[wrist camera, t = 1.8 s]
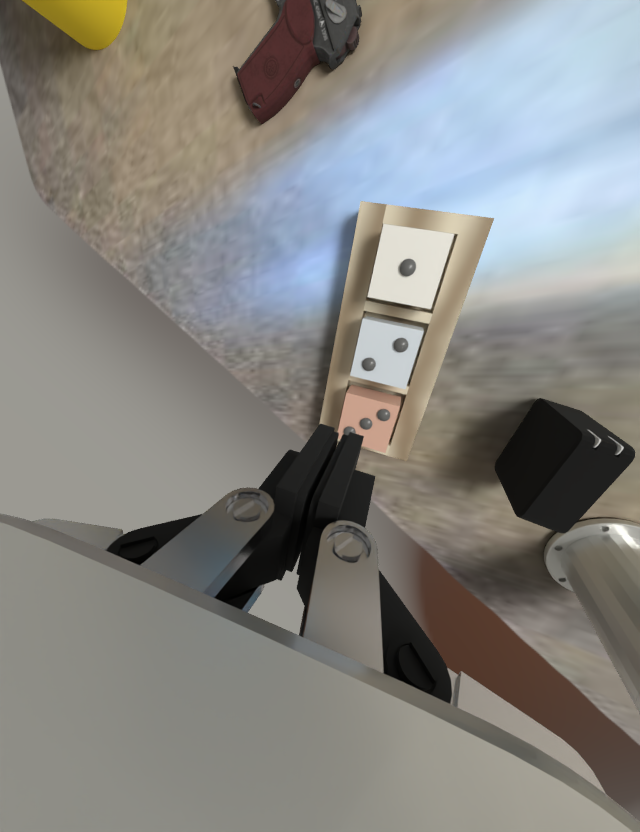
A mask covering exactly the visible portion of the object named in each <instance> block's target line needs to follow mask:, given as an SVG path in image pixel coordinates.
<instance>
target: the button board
mask: <svg viewBox="0 0 640 832" xmlns="http://www.w3.org/2000/svg"><path fill="white" fill-rule="evenodd" d="M493 220H494V218H487V217H479V216H472V215H464V214H456V213H448V212H441V211H433V210H425V209H417V208H410V207H402V206H394V205H386V204H379V203H371V202H363V201H361V202H360V208H359V213H358V219H357V224H356V229H355V235H354V240H353V246H352V251H351V256H350V262H349V267H348V272H347V278H346V283H345V289H344V294H343V299H342V305H341V310H340V316H339V321H338V326H337V332H336V337H335V343H334V348H333V353H332V359H331V364H330V370H329V375H328V380H327V386H326V391H325V396H324V402H323V407H322V413H321V418H320V423H319V425H320V424H324V425H327V426H331V427H334V428H335V430H334V432H338V428H339V424H340V419H341V415H342V410H343V405H344V401H345V396H346V392H347V391H348V389H349V388H350V386H351V385H356V386H360V387H364V388H367V389H371V390H375V391H379V392H383V393H387V394H391V395H395V396H399V397H401V403H400V408H399V412H398V415H397V418H396V421H395V424H394V427H393V431H392V434H391V437H390V440H389V443H388V446H387V450H386V453H384V452H380V451H377V450H374V449H370V448H367V447H363V446H361V448H363V449H367V450H370V451H373V452H377V453H380V454H384V455H387V456H390V457H394V458H397V459H400V460H404V461H407V459H408V456H409V454H410V451H411V448H412V445H413V442H414V440H415V437H416V434H417V431H418V429H419V426H420V423H421V420H422V417H423V415H424V412H425V409H426V406H427V403H428V401H429V398H430V395H431V392H432V390H433V387H434V384H435V381H436V378H437V376H438V373H439V370H440V367H441V365H442V362H443V359H444V356H445V353H446V351H447V348H448V345H449V342H450V340H451V337H452V334H453V331H454V328H455V326H456V323H457V320H458V317H459V314H460V312H461V309H462V306H463V303H464V301H465V298H466V295H467V292H468V289H469V287H470V284H471V281H472V278H473V276H474V273H475V270H476V267H477V264H478V262H479V259H480V256H481V253H482V251H483V248H484V245H485V242H486V239H487V237H488V234H489V231H490V228H491V225H492V223H493ZM383 224H389V225H396V226H403V227H410V228H417V229H424V230H431V231H438V232H445V233H452V234H454V237H453V240H452V244H451V247H450V250H449V253H448V256H447V259H446V263H445V266H444V269H443V272H442V275H441V278H440V282H439V285H438V288H437V291H436V294H435V297H434V301H433V304H432V307H431V309H427V308H422V307H417V306H411V305H406V304H401V303H396V302H391V301H385V300H380V299H375V298H370V297H367V296H368V292H369V287H370V283H371V278H372V274H373V269H374V265H375V260H376V256H377V251H378V246H379V242H380V237H381V233H382V228H383ZM366 316H369V317H374V318H379V319H384V320H389V321H394V322H398V323H403V324H408V325H413V326H418V327H423V330H424V332H423V336H422V339H421V342H420V345H419V348H418V351H417V355H416V358H415V361H414V364H413V367H412V370H411V374H410V377H409V380H408V383H407V386H406V389H402V388H398V387H394V386H390V385H386V384H382V383H378V382H374V381H370V380H366V379H362V378H358V377H354V376H350V374H351V369H352V365H353V360H354V355H355V351H356V346H357V342H358V337H359V333H360V328H361V324H362V319H363V318H364V317H366ZM338 441H340V439H338Z"/></svg>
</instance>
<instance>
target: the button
mask: <svg viewBox="0 0 640 832" xmlns="http://www.w3.org/2000/svg"><path fill="white" fill-rule="evenodd" d="M453 237H454V234H452V233H445V232H438V231H431V230H424V229H417V228H410V227H403V226H396V225H389V224H383V228H382V233H381V237H380V242H379V246H378V251H377V256H376V260H375V265H374V269H373V274H372V278H371V283H370V287H369V292H368V296H367V297H370V298H375V299H380V300H385V301H391V302H396V303H401V304H406V305H411V306H417V307H422V308H427V309H431V307H432V304H433V301H434V297H435V294H436V291H437V288H438V285H439V282H440V278H441V275H442V272H443V269H444V266H445V263H446V259H447V256H448V253H449V250H450V247H451V244H452V240H453Z"/></svg>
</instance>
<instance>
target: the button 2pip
mask: <svg viewBox="0 0 640 832" xmlns="http://www.w3.org/2000/svg"><path fill="white" fill-rule="evenodd" d="M423 332H424V330H423V327H418V326H413V325H408V324H403V323H398V322H394V321H389V320H384V319H379V318H374V317H369V316H366V317H364V318H363V319H362V324H361V328H360V333H359V337H358V342H357V346H356V351H355V355H354V360H353V365H352V369H351V374H350V376H354V377H358V378H362V379H366V380H370V381H374V382H378V383H382V384H386V385H390V386H394V387H398V388H402V389H406V386H407V383H408V380H409V377H410V374H411V370H412V367H413V364H414V361H415V358H416V355H417V351H418V348H419V345H420V342H421V339H422V336H423Z"/></svg>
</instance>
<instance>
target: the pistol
mask: <svg viewBox="0 0 640 832" xmlns="http://www.w3.org/2000/svg"><path fill="white" fill-rule="evenodd" d="M275 1H276V3H277V5H278V7H279V15H278V17H277V20H276V22H275V23H274V25H273V26H272V27H271V28H270V30H269V31H268V32H267V34H266V35H265V36H264V38H263V39H262V40H261V42H260V43H259V44H258V45H257V47H256V48H255V49H254V51H253V52H252V53H251V55H250V56H249V57H248V59H247V60H246V61H245V63H244V64H243V65H242V66H241V68H240V69H238V67H234V66H233V67H234V70H235V73H236V76H237V79H238V81H239V84H240V87H241V90H242V92H243V95H244V98H245V101H246V104H247V105H248V108H249V109H250V110H251V112H252V113H253V114H254V116H255V117H256V118H257V119H258V121H259V122H260V123H261V124H263V123H264V122H266V121H267V120H269V119H270V118H272V117H273V116H274V115H276V114H277V113H278V112H279V111H280V110H281V109H282V108H283V107H284V106H285V105H286V104H287V103H288V101H289V100H290V99H291V98H292V97H293V95H294V94H295V93H296V91H297V90H298V89H299V87H300V86H301V84H302V83H303V81H304V80H305V78H306V77H307V75H308V73H309V72H310V71H311V69H312V68H313V67H314V66H315V65H317V64H320V61H324V62H326V63H328V64H329V66H330V68H331V69H335V68H337V67H338V66H339V65H340V64H342V63H343V61H344V59H345V58H346V56H347V54H348V52H349V51H350V50H354V49H355V48H357V45H358V42H359V35H358V29H359V27H360V23H361V18H360V17H361V16H362V11H361V7H360V5H359V6H357V3H356V0H275Z"/></svg>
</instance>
